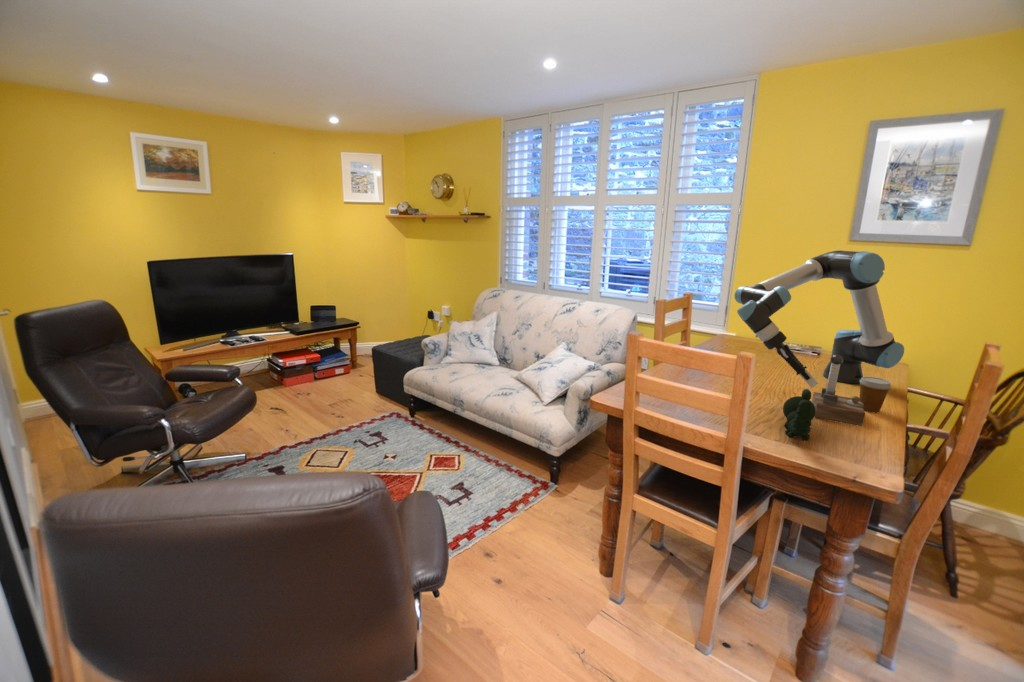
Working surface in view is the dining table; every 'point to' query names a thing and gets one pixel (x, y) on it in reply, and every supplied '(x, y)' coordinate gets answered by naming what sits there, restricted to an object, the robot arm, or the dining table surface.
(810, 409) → the toy figurine
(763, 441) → the dining table surface
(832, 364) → the lever
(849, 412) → the base
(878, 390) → the disposable coffee cup
